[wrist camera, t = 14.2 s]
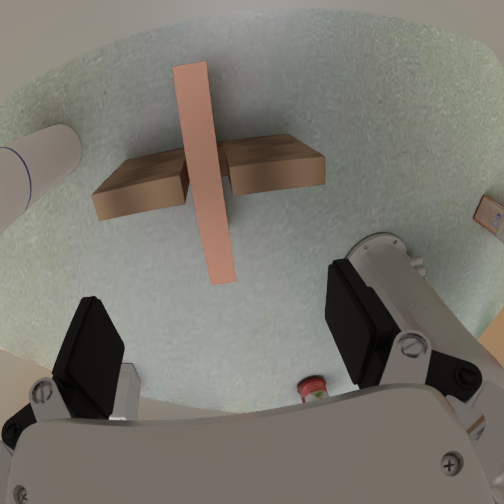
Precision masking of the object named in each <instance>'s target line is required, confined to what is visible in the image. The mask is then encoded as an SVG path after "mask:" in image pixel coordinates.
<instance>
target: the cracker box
mask: <svg viewBox="0 0 504 504" xmlns="http://www.w3.org/2000/svg"><path fill="white" fill-rule="evenodd" d="M473 219H474V220H475V221H477V222H478V223H479V224H480V225H482V226H483V227H484V228H486V229H487V230H488V231H489V232H491V233H492V234H493V235H494V236H496V237H497V238H498V239H499V240H500V241H502V242H503V243H504V207H502V206H501V205H499V204H498V203H496V202H495V201H493V200H492V199H490V198H488V197H487V196H485V195H484V196H483V198H482V200H481V203H480V205H479V207H478V209H477V212H476V214H475V216H474V218H473Z"/></svg>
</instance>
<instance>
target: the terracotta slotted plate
mask: <svg viewBox="0 0 504 504" xmlns="http://www.w3.org/2000/svg"><path fill="white" fill-rule="evenodd" d="M172 68H173V76H174V83H175V91H176V98H177V105H178V112H179V118H180V125H181V131H182V138H183V144H184V150H185V156H186V162H187V167H188V173H189V179H190V184H191V190H192V195H193V200H194V205H195V211H196V216H197V221H198V226H199V231H200V236H201V241H202V245H203V250H204V255H205V259H206V264H207V269H208V273H209V278H210V282H211V285H217V284H223V283H230V282H236V275H235V268H234V262H233V256H232V249H231V243H230V236H229V229H228V223H227V216H226V209H225V202H224V195H223V188H222V181H221V174H220V167H219V160H218V152H217V145H216V137H215V130H214V122H213V114H212V107H211V99H210V91H209V82H208V74H207V66H206V61H204V62H197V63H191V64H185V65H180V66H174V67H172Z"/></svg>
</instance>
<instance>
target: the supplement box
mask: <svg viewBox="0 0 504 504" xmlns="http://www.w3.org/2000/svg"><path fill="white" fill-rule="evenodd" d="M140 388H141V381H140V379H139V377H138V375H137V373H136V371H135V369H134V367H133V364H121V369H120V374H119V379H118V385H117V390H116V396H115V402H114V408H113V413H112V415H110V416H109V420H137V419H138V407H139V397H140Z"/></svg>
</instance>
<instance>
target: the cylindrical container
mask: <svg viewBox="0 0 504 504" xmlns="http://www.w3.org/2000/svg"><path fill="white" fill-rule="evenodd" d="M81 155H82V146H81V142H80V139H79V136H78V135H77V133H76V132H75V131H74V130H73V129H72V128H71V127H69V126H67V125H63V124H57V125H53V126H50V127H47V128H45V129H42V130H39V131H36V132H34V133H31V134H29V135H26V136H24V137H21V138H19V139H16V140H14V141H12V142H9V143H7V144H5V145H3V146H1V147H0V235H1V234H2V233H3V232H4V231H5V230H6V229H7V228H8V227H9V226H10V225H11V224H12V223H13V222H14V221H15V220H16V219H17V218H18V217H19V216H21V215H22V214H23V213H24V212H25V211H26V210H27V209H28V208H29V207H30V206H32V205H33V204H34V203H35V202H36V201H37V200H39V199H40V198H41V197H42V196H43V195H44V194H46V193H47V192H48V191H49V190H50V189H52V188H53V187H54V186H55V185H57V184H58V183H59V182H60V181H62V180H63V179H64V178H66V177H67V176H68V175H70V174H71V173H72V172H73V171H74V170H75V169H76V168H77V166H78V164H79V162H80V159H81Z"/></svg>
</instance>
